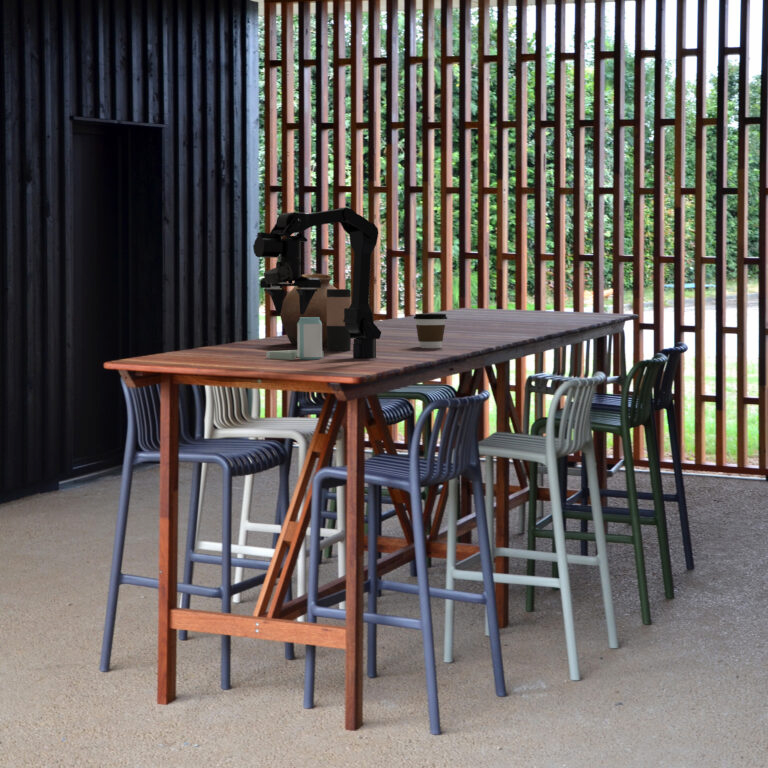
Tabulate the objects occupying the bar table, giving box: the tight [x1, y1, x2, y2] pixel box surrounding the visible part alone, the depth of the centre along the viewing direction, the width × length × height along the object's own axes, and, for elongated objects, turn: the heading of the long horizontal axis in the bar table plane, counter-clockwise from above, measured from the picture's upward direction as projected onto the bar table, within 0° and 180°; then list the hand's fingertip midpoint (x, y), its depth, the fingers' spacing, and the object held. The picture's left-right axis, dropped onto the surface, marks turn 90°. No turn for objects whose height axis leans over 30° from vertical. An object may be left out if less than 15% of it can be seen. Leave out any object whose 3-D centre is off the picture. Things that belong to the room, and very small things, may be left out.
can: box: [297, 317, 323, 361], centre depth 364 cm, size 7×7×12 cm
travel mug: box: [326, 288, 352, 352], centre depth 395 cm, size 8×8×20 cm
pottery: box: [279, 273, 338, 348], centre depth 411 cm, size 23×23×25 cm
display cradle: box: [265, 349, 325, 361], centre depth 368 cm, size 13×10×2 cm
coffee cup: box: [413, 313, 448, 349], centre depth 408 cm, size 11×11×12 cm
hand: (290, 314), depth 353 cm, fingers open, 9 cm apart
